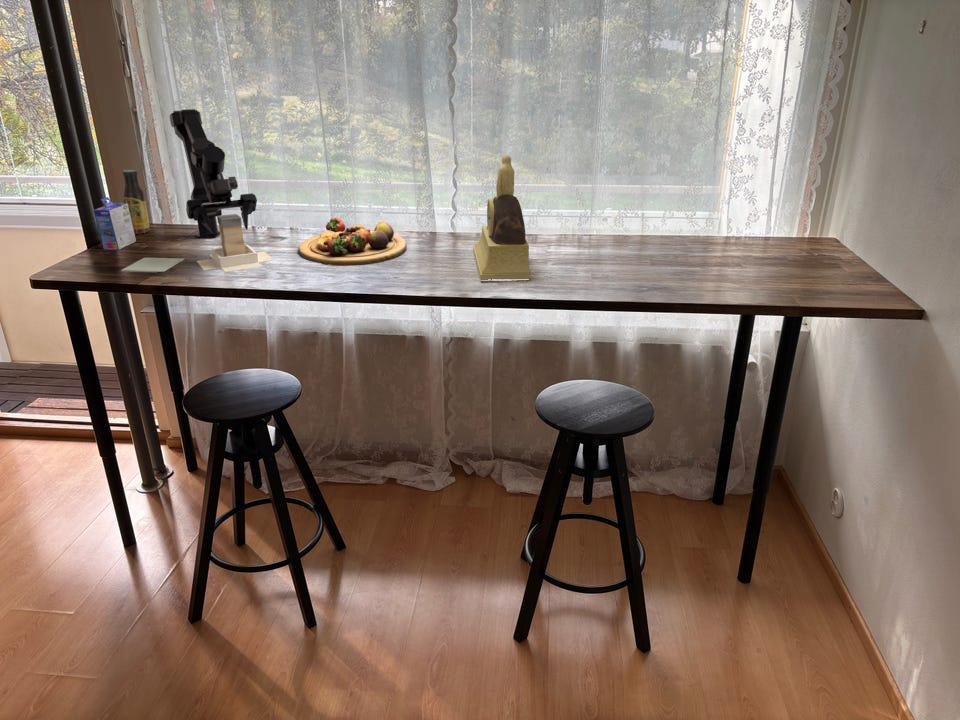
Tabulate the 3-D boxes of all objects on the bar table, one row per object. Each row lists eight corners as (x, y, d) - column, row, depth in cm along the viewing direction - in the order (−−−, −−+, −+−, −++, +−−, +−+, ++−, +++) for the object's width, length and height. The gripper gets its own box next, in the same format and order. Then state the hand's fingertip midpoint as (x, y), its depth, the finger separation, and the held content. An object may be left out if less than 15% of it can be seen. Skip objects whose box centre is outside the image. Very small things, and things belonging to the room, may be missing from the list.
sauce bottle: (125, 234, 227) (112, 171, 219) (137, 229, 233) (124, 168, 225) (144, 235, 226) (131, 172, 218) (155, 230, 232) (143, 169, 224)
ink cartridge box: (120, 241, 220) (110, 194, 214) (137, 241, 219) (127, 194, 213) (101, 249, 211) (90, 201, 205) (119, 250, 210) (108, 201, 204)
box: (223, 259, 201) (216, 215, 195) (242, 256, 203) (236, 213, 198) (228, 264, 197) (221, 219, 191) (247, 261, 199) (240, 217, 194)
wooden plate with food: (294, 241, 221) (291, 215, 217) (394, 232, 230) (393, 207, 226) (304, 273, 193) (300, 244, 190) (417, 261, 202) (416, 233, 198)
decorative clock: (473, 252, 209) (473, 148, 196) (516, 252, 210) (518, 147, 197) (480, 282, 183) (480, 164, 171) (529, 281, 184) (533, 164, 172)
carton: (193, 258, 203) (191, 248, 202) (259, 248, 212) (258, 239, 211) (207, 275, 188) (206, 264, 187) (278, 264, 197) (277, 254, 196)
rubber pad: (144, 258, 202) (144, 257, 202) (184, 260, 201) (184, 258, 201) (121, 271, 191) (121, 270, 191) (163, 272, 190) (163, 271, 190)
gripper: (180, 170, 190) (196, 218, 186) (250, 164, 199) (266, 210, 195) (180, 194, 199) (195, 241, 195) (247, 188, 208) (262, 232, 204)
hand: (230, 230), depth 197 cm, fingers open, 9 cm apart
